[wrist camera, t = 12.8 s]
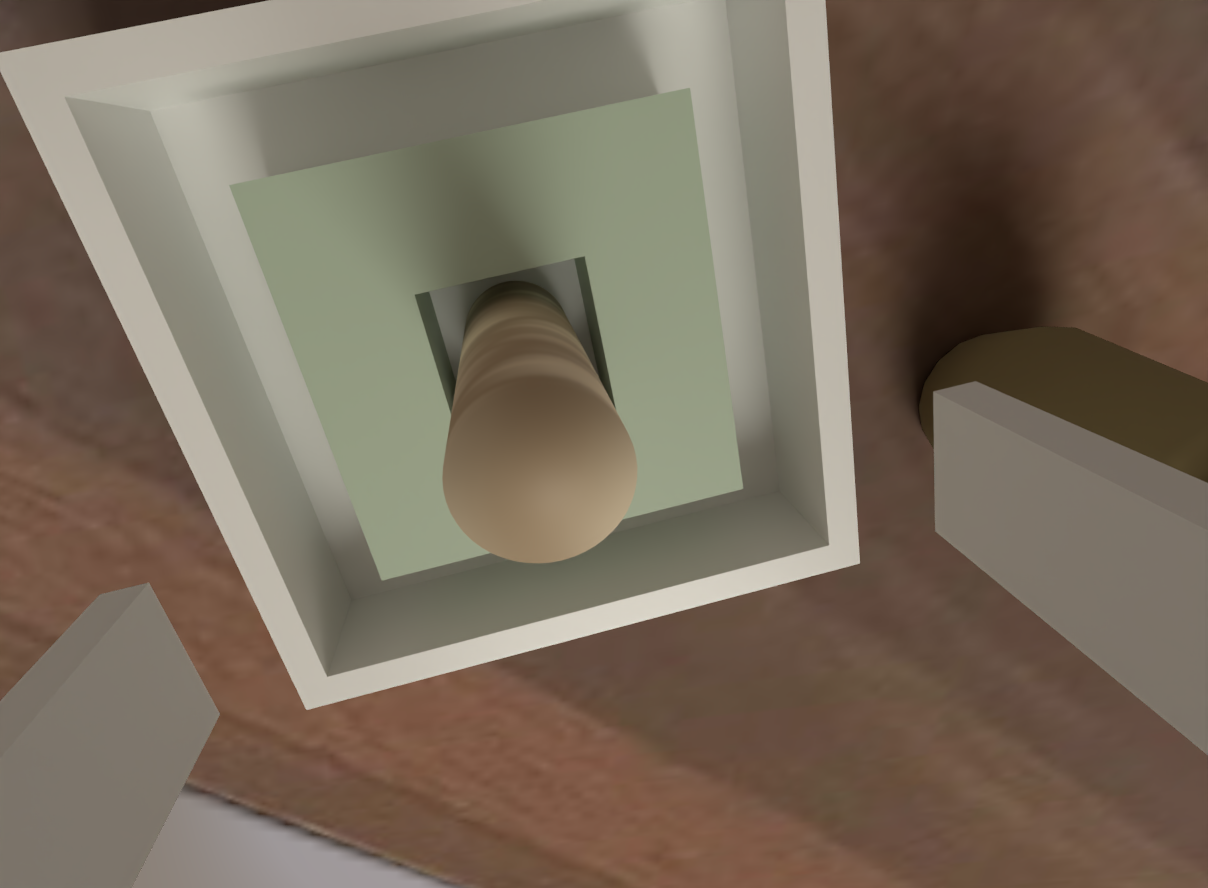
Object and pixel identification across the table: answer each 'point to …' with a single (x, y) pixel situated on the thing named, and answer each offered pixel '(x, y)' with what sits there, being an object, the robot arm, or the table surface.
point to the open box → (455, 290)
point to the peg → (533, 434)
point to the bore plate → (487, 249)
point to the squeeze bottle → (1086, 390)
